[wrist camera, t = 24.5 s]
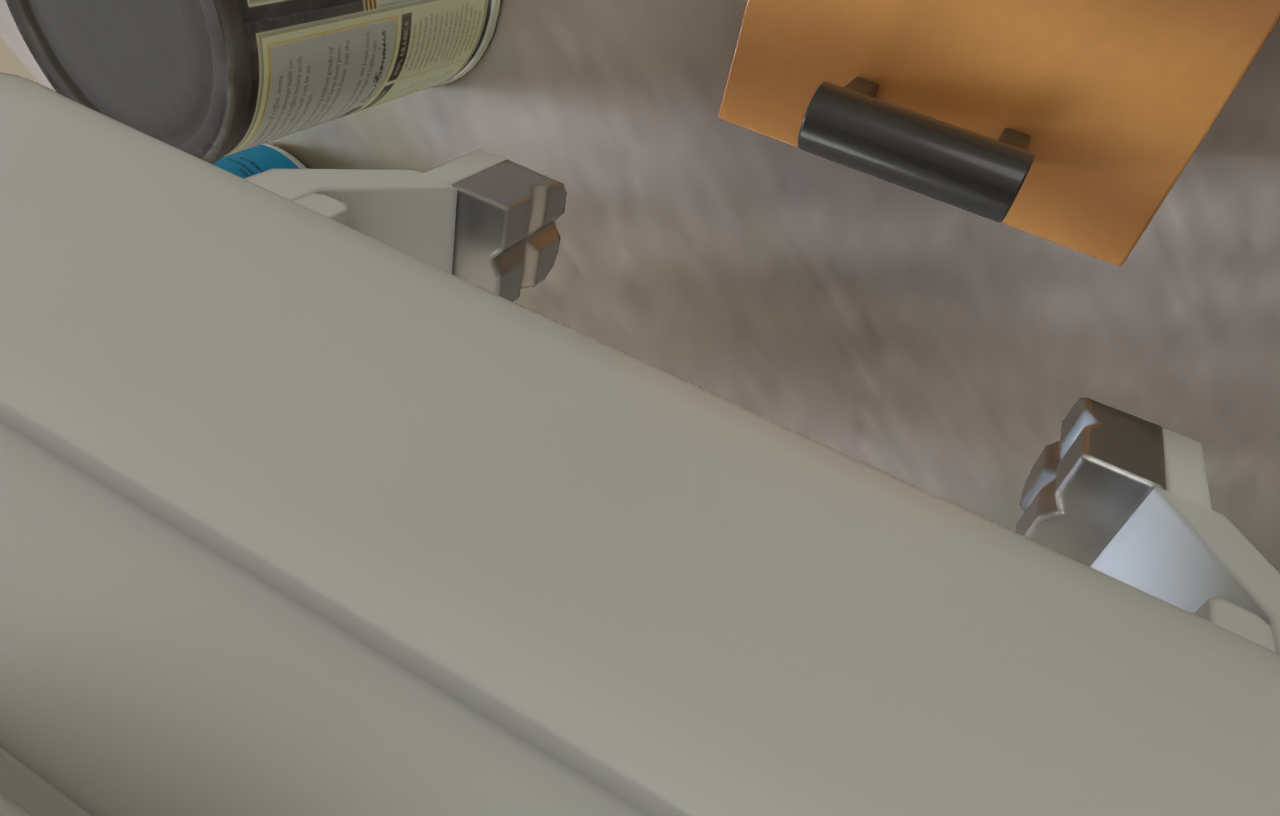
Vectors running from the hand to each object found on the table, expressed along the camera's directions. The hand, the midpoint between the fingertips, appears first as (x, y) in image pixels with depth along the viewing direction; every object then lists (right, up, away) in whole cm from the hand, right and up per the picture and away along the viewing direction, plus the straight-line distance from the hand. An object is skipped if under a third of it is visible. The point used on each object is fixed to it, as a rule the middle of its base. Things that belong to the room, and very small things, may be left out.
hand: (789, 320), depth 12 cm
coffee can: (-12, +18, +23) cm, 32 cm away
